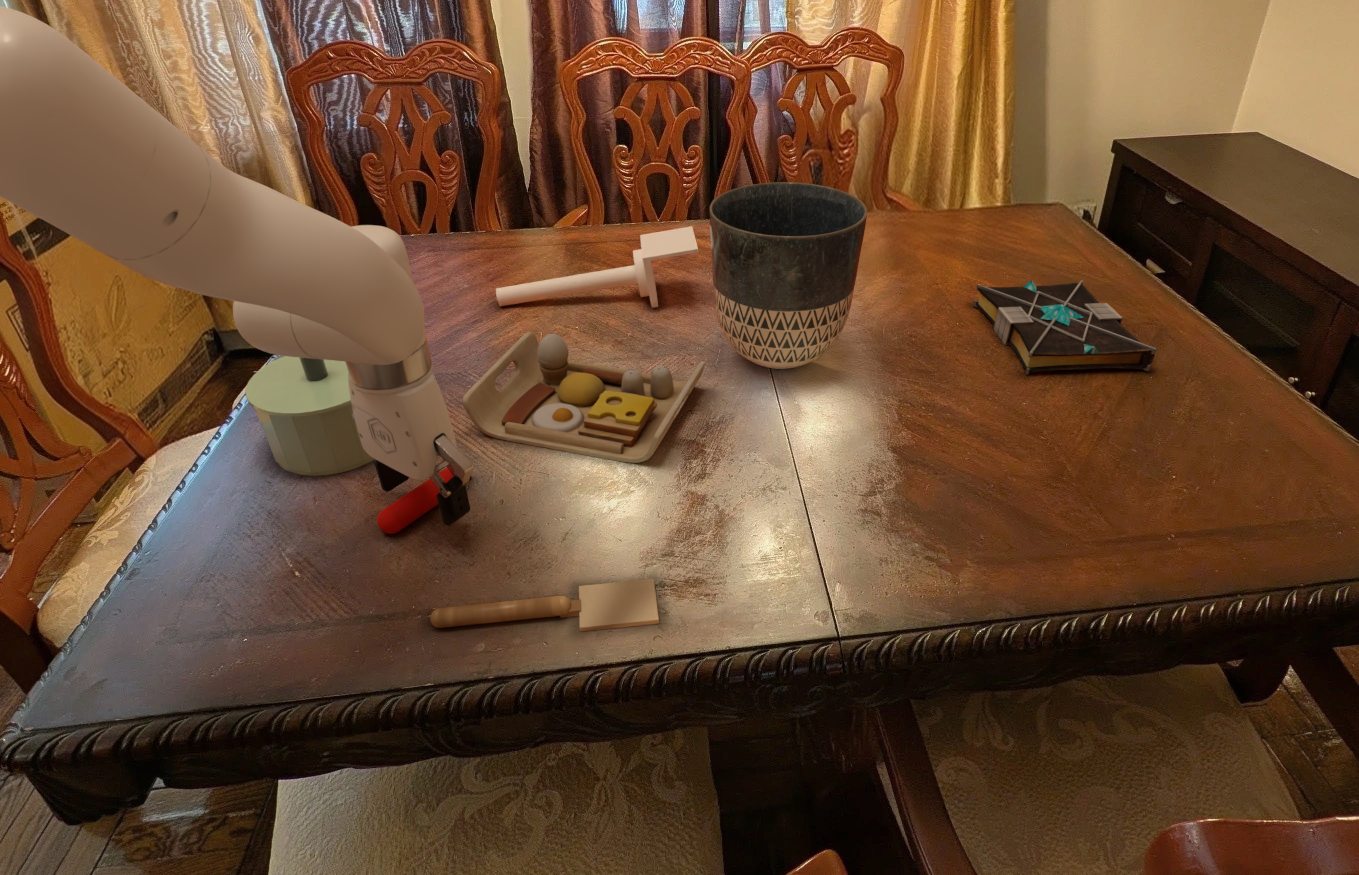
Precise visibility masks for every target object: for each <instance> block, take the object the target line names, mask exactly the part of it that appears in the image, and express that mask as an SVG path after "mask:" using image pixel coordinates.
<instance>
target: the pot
mask: <svg viewBox="0 0 1359 875" xmlns="http://www.w3.org/2000/svg"><path fill="white" fill-rule="evenodd" d="M254 410H255V412H256V416H257V418H258V420H259V422H260V425H261V428H262V430H263V432H264V435H265V438H266V440H267V443H268V445H269V448H270V450H271V453H272V455H273V456H272V457H273V458H274V460H275V462H276V464H278V465H279V466H280V467H281V468H282V469H284V470H285V471H288V472H289V473H293V474H296V475H301V476H310V477H311V476H313V477H314V476H315V477H318V476H330V475H335V474H340V473H345V472H348V471H352V470H354V469H358V468H360V467H363V466H364V465H366V464H368V463H371V462H373V461H374V460H373V459H372V458H371V457H370V455H368V454H367V453H366V452H365V451H364V449H363V447H362V444H361V441H360V437H359V434H358V430H357V426H356V422H355V421H354V419H353V417H352V413H353V409H352V404H349V405H347V406H344V407H342V408H339V409H336V410H332V411H329V412H325V413H320V414H315V415H308V416H298V417H283V416H275V415H269V414H266V413H263V412H260V411H258V410H256V409H255V408H254Z"/></svg>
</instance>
